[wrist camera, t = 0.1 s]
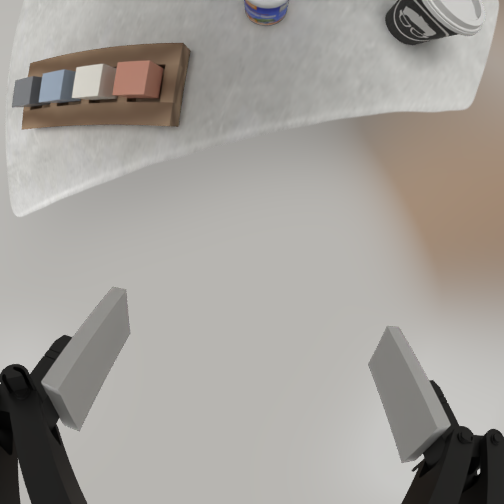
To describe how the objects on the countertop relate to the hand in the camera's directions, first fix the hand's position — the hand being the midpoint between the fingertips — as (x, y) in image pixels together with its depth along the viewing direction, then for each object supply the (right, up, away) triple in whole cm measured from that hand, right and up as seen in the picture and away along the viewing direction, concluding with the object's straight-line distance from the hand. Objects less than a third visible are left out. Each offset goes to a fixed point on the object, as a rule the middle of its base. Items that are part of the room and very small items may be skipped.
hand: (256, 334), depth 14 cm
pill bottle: (+2, +36, +15) cm, 39 cm away
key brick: (-13, +25, +16) cm, 33 cm away
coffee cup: (+22, +37, +14) cm, 45 cm away
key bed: (-22, +28, +19) cm, 40 cm away
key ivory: (-19, +26, +16) cm, 36 cm away
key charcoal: (-31, +27, +16) cm, 44 cm away
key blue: (-25, +27, +16) cm, 40 cm away
